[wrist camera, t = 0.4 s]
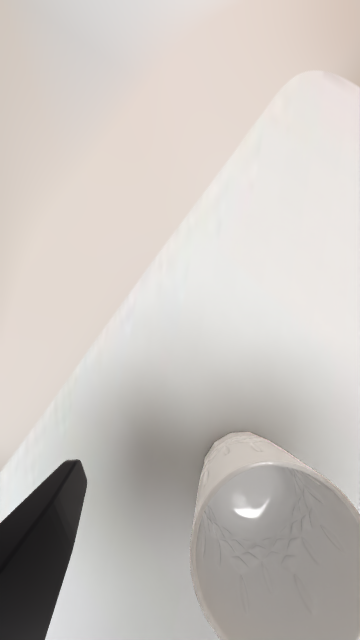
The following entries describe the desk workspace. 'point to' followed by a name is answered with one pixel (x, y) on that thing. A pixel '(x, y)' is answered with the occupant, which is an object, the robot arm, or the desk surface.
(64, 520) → the robot arm
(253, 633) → the white cup
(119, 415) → the desk surface
